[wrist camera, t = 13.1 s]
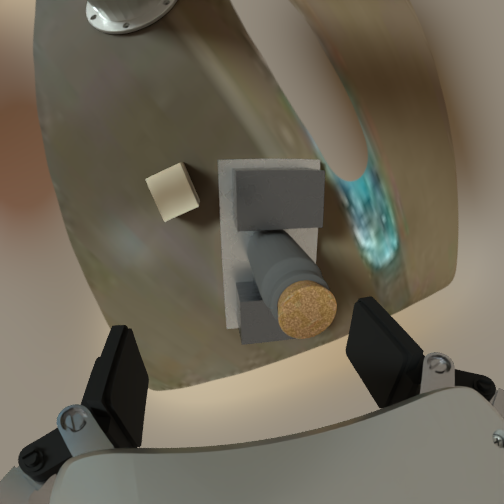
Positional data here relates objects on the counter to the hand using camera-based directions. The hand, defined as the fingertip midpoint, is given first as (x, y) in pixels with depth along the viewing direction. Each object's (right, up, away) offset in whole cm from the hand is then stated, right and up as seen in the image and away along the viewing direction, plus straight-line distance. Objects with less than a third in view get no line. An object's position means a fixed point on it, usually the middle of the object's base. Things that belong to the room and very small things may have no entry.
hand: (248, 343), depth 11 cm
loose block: (-9, +11, +21) cm, 25 cm away
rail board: (+2, +4, +25) cm, 25 cm away
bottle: (+2, +4, +24) cm, 24 cm away
